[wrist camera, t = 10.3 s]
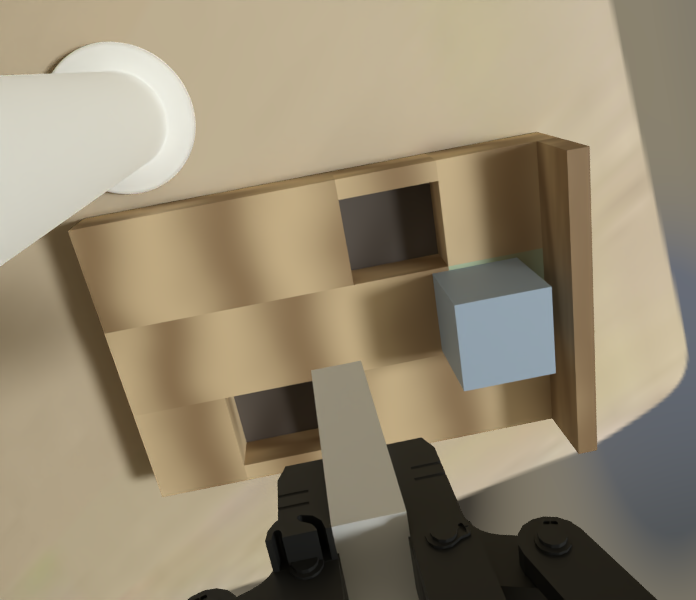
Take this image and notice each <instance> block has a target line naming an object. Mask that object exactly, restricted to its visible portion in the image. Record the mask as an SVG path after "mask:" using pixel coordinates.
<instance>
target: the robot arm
mask: <svg viewBox="0 0 696 600" xmlns="http://www.w3.org/2000/svg"><path fill="white" fill-rule="evenodd" d="M311 374H312V381H313V389H314V397H315V405H316V412H317V420H318V428H319V436H320V444H321V451H322V459H319V460H314V461H310V462H305V463H300V464H295V465H290V466H285V468H284V470H283V472H282V474H281V476H280V478H279V479H278V521H276V522H275V523H274V524H273V525H272V527H271V528H270V529H269V530H268V532H267V536H266V540H265V542H266V546H267V550H268V553H269V557H270V561H271V565H272V568H273V572H272V573H271V574H270V576H269V577H268V578H267V579H266V580H265V581H264V582H262V583H261V584H260V585H258V586H257V587H255V588H253V589H252V590H250V591H248V592H246V593H244V594H242V595H240V596H238V597H236V596H235V595H234V594H232V593H231V592H230V591H228V590H223V589H217V588H216V589H210V590H205V591H202V592H200V593H198V594H196V595H194V596H192V597H190V598H189V599H188V600H657V599H656V598H655V597H654V596H653V595H651V594H650V593H649V592H648V591H647V590H646V589H645V588H644V587H643V586H642V585H641V584H640V583H639V582H638V581H637V580H635V579H634V578H633V577H632V576H631V575H630V574H629V573H628V572H627V571H626V570H625V569H624V568H623V567H622V566H620V565H619V564H618V563H617V562H616V561H615V560H614V559H613V558H612V557H611V556H610V555H609V554H607V552H605V551H604V550H603V549H602V548H601V547H600V546H599V545H598V544H597V543H596V542H595V541H594V540H593V539H592V538H590V537H589V536H588V535H587V534H586V533H585V532H584V531H583V530H582V529H581V528H579V527H578V526H576V525H574V524H573V523H572V522H570V521H568V520H564V519H561V518H558V517H541V518H537V519H533V520H531V521H529V522H528V523H526V524H525V525H523V526H522V528H521V530H520V532H519V533H518V536H513V535H498V534H491V533H487V532H484V531H481V530H479V529H477V528H476V527H474V526H473V525H472V524H471V522H470V521H468V520H467V519H466V518H465V517H464V515H463V513H462V511H461V509H460V506H459V504H458V502H457V499H456V497H455V495H454V492H453V490H452V488H451V485H450V483H449V480H448V478H447V476H446V475H445V471H444V469H443V466H442V464H441V463H440V459H439V457H438V455H437V452H436V450H435V448H434V447H433V446H432V445H431V444H429V443H428V442H427V441H426V440H424V439H423V438H422V437H421V438H416V439H411V440H406V441H401V442H396V443H391V444H386V442H385V439H384V435H383V432H382V429H381V425H380V422H379V419H378V415H377V412H376V409H375V405H374V402H373V399H372V395H371V392H370V389H369V385H368V382H367V379H366V376H365V372H364V369H363V366H362V362H361V361H356V362H351V363H346V364H341V365H336V366H331V367H326V368H321V369H316V370H311Z"/></svg>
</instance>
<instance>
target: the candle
mask: <svg viewBox="0 0 696 600" xmlns="http://www.w3.org/2000/svg"><path fill="white" fill-rule="evenodd" d="M195 131H196V122H195V114H194V108H193V105H192V101H191V99H190V96H189V94H188V92H187V90H186V88H185V86H184V84H183V83H182V81H181V80H180V78H179V77H178V76H177V74H176V73H175V72H174V71H173V70H172V69H171V68H170V67H169V66H168V65H167V64H166V63H165V62H164V61H163V60H161V59H160V58H159V57H157V56H156V55H154V54H152V53H151V52H149V51H147V50H145V49H143V48H140V47H138V46H134V45H131V44H127V43H121V42H98V43H93V44H89V45H86V46H83V47H81V48H79V49H77V50H75V51H73V52H72V53H70V54H69V55H67V56H66V57H65V58H64V59H63V60H62V61H61V62H60V63H59V64H58V65H57V66H56V68H55V69H54V70H53V72H52V73H51V74H27V75H0V266H2V265H3V264H4V263H6V262H7V261H9V260H10V259H11V258H13V257H14V256H16V255H17V254H19V253H20V252H21V251H23V250H24V249H26V248H27V247H28V246H30V245H31V244H33V243H34V242H36V241H37V240H38V239H40V238H41V237H43V236H44V235H45V234H47V233H48V232H50V231H51V230H53V229H54V228H55V227H57V226H58V225H60V224H61V223H62V222H64V221H65V220H67V219H68V218H70V217H71V216H72V215H74V214H75V213H77V212H78V211H79V210H81V209H82V208H84V207H85V206H87V205H88V204H89V203H91V202H92V201H94V200H95V199H96V198H98V197H99V196H101V195H102V194H104V193H105V192H106V191H107V192H111V193H117V194H138V193H143V192H147V191H150V190H153V189H156V188H158V187H160V186H162V185H163V184H165V183H166V182H168V181H169V180H171V179H172V178H173V177H174V176H175V175H176V174H177V173H178V172H179V171H180V170H181V168H182V167H183V166H184V164H185V163H186V161H187V159H188V157H189V155H190V153H191V150H192V147H193V144H194V139H195Z"/></svg>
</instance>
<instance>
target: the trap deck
mask: <svg viewBox="0 0 696 600" xmlns="http://www.w3.org/2000/svg"><path fill="white" fill-rule="evenodd" d="M68 233H69V236H70V239H71V242H72V244H73V247H74V250H75V253H76V256H77V259H78V261H79V264H80V267H81V270H82V273H83V275H84V278H85V281H86V284H87V287H88V289H89V292H90V295H91V298H92V301H93V304H94V306H95V309H96V312H97V315H98V318H99V320H100V323H101V326H102V329H103V332H104V334H105V337H106V340H107V343H108V346H109V348H110V351H111V354H112V357H113V360H114V363H115V365H116V368H117V371H118V374H119V377H120V379H121V382H122V385H123V388H124V391H125V393H126V396H127V399H128V402H129V405H130V408H131V410H132V413H133V416H134V419H135V422H136V424H137V427H138V430H139V433H140V436H141V438H142V441H143V444H144V447H145V450H146V453H147V455H148V458H149V461H150V464H151V467H152V469H153V472H154V475H155V478H156V481H157V483H158V486H159V489H160V492H161V495H162V497H166V496H171V495H175V494H180V493H185V492H190V491H195V490H200V489H205V488H210V487H215V486H220V485H225V484H230V483H235V482H240V481H245V480H250V479H255V478H260V477H264V476H269V475H274V474H279V473H282V472H283V470H284V468H285V466H290V465H295V464H300V463H305V462H310V461H314V460H319V459H322V451H321V444H320V436H319V428H318V420H317V412H316V405H315V397H314V389H313V381H312V374H311V370H316V369H321V368H326V367H331V366H336V365H341V364H346V363H351V362H356V361H361V362H362V366H363V369H364V372H365V376H366V379H367V382H368V385H369V389H370V392H371V395H372V399H373V402H374V405H375V409H376V412H377V415H378V419H379V422H380V425H381V429H382V432H383V435H384V439H385V442H386V444H391V443H396V442H401V441H406V440H411V439H416V438H421V437H422V438H423V439H424V440H426V441H427V442H428V443H433V442H438V441H442V440H447V439H452V438H457V437H462V436H467V435H472V434H477V433H482V432H487V431H492V430H497V429H502V428H507V427H512V426H517V425H522V424H526V423H531V422H536V421H541V420H546V419H551V418H552V419H553V420H554V421H555V423H556V424H557V425H558V427H559V428H560V429H561V431H562V432H563V433H564V435H565V436H566V437H567V439H568V440H569V441H570V443H571V444H572V445H573V447H574V448H575V449H576V451H577V452H578V453H579V454H580V453H585V452H590V451H594V450H597V426H596V387H595V347H594V307H593V267H592V227H591V188H590V148H589V146H587V145H583V144H579V143H575V142H572V141H568V140H564V139H561V138H557V137H553V136H550V135H546V134H542V133H539V132H535V133H530V134H524V135H519V136H514V137H509V138H504V139H498V140H493V141H488V142H483V143H477V144H472V145H467V146H462V147H457V148H451V149H446V150H441V151H436V152H430V153H425V154H420V155H415V156H409V157H404V158H399V159H394V160H389V161H383V162H378V163H373V164H368V165H362V166H357V167H352V168H347V169H341V170H336V171H331V172H326V173H321V174H315V175H310V176H305V177H300V178H294V179H289V180H284V181H279V182H274V183H268V184H263V185H258V186H253V187H247V188H242V189H237V190H232V191H226V192H221V193H216V194H211V195H206V196H200V197H195V198H190V199H185V200H179V201H174V202H169V203H164V204H158V205H153V206H148V207H143V208H138V209H132V210H127V211H122V212H117V213H111V214H106V215H101V216H96V217H91V218H85V219H83V220H82V221H80V222H79V223H78V224H76V225H75V226H74V227H72V228H71V229H70V230H68ZM512 258H518V259H519V260H521V261H522V262H523V263H524V264H525V265H527V266H528V267H529V268H530V269H531V270H532V271H534V272H535V273H536V274H537V275H538V276H540V277H541V278H542V279H543V280H544V281H546V282H547V283H548V284H549V285H550V286H551V287H552V304H553V325H554V345H555V366H556V373H554V374H549V375H544V376H539V377H534V378H529V379H524V380H519V381H514V382H509V383H504V384H499V385H494V386H489V387H484V388H479V389H474V390H469V391H464V390H463V388H462V387H461V385H460V383H459V381H458V379H457V377H456V375H455V374H454V372H453V370H452V368H451V366H450V364H449V362H448V361H447V359H446V357H445V355H444V353H443V351H442V346H441V338H440V330H439V322H438V315H437V307H436V299H435V291H434V283H433V275H432V274H434V273H439V272H444V271H449V270H455V269H460V268H465V267H470V266H475V265H480V264H486V263H491V262H496V261H501V260H506V259H512Z"/></svg>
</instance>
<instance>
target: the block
mask: <svg viewBox="0 0 696 600" xmlns="http://www.w3.org/2000/svg"><path fill="white" fill-rule="evenodd" d="M432 275H433V283H434V291H435V299H436V307H437V315H438V322H439V330H440V338H441V346H442V351H443V353H444V355H445V357H446V359H447V361H448V362H449V364H450V366H451V368H452V370H453V372H454V374H455V375H456V377H457V379H458V381H459V383H460V385H461V387H462V388H463V390H464V391H469V390H474V389H479V388H484V387H489V386H494V385H499V384H504V383H509V382H514V381H519V380H524V379H529V378H534V377H539V376H544V375H549V374H554V373H556V366H555V345H554V325H553V304H552V287H551V286H550V285H549V284H548V283H547V282H546V281H544V280H543V279H542V278H541V277H540V276H538V275H537V274H536V273H535V272H534V271H532V270H531V269H530V268H529V267H528V266H527V265H525V264H524V263H523V262H522V261H521V260H519V259H518V258H512V259H506V260H501V261H496V262H491V263H486V264H480V265H475V266H470V267H465V268H460V269H455V270H449V271H444V272H439V273H434V274H432Z"/></svg>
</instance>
